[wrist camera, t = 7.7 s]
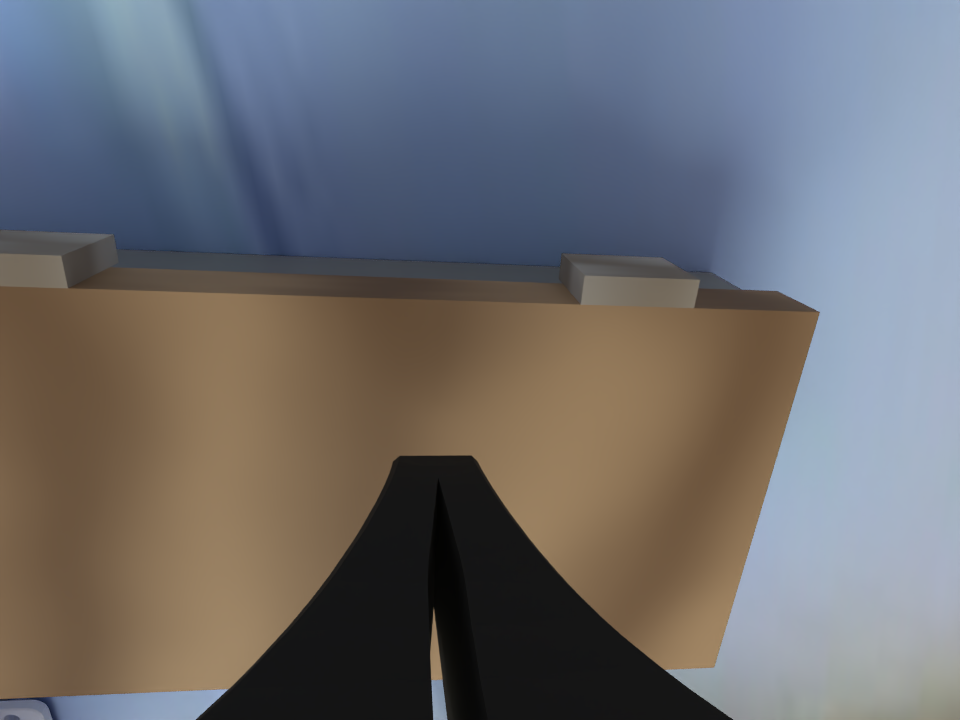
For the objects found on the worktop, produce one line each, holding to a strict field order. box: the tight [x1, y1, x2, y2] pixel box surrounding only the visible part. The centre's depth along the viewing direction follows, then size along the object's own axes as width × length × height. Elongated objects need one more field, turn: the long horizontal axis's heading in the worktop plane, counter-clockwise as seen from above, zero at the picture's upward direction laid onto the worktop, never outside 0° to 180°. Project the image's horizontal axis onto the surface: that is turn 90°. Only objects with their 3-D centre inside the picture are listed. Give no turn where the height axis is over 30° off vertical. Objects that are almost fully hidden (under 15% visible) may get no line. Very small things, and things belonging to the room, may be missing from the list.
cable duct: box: [111, 249, 741, 290], centre depth 16 cm, size 20×10×3 cm, turn 86°
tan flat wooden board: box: [0, 230, 820, 699], centre depth 14 cm, size 20×11×2 cm, turn 86°
